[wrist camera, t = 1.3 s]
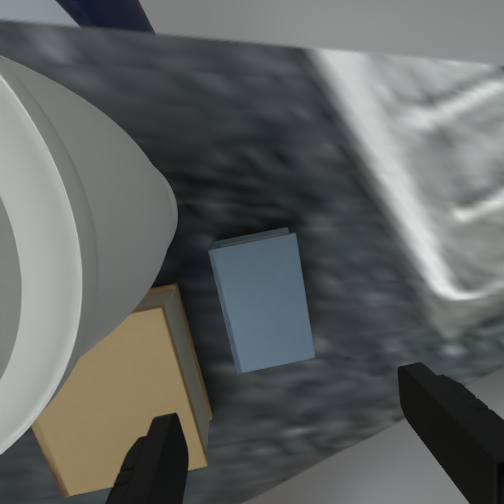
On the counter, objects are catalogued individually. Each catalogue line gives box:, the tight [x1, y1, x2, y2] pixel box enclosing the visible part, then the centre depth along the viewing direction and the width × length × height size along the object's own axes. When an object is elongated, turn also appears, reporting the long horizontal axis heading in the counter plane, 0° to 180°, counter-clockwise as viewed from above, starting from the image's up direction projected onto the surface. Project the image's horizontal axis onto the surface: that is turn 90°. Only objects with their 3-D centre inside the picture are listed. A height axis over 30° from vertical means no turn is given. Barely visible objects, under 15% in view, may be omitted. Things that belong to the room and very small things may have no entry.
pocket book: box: [208, 227, 315, 374], centre depth 19 cm, size 9×6×3 cm, turn 11°
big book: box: [31, 283, 212, 497], centre depth 19 cm, size 12×10×4 cm
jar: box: [0, 55, 178, 454], centre depth 12 cm, size 11×10×15 cm
